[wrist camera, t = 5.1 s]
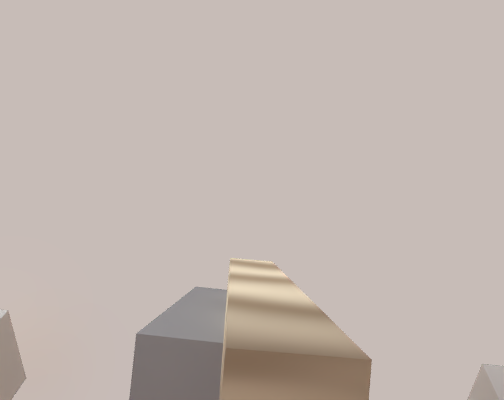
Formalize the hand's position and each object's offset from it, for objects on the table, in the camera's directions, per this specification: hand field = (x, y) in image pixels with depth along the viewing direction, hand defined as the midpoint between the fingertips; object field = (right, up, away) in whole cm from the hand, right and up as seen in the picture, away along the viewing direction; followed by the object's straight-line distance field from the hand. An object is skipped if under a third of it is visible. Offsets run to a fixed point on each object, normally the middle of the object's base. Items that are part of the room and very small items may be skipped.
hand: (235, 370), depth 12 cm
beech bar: (+1, -1, +7) cm, 8 cm away
